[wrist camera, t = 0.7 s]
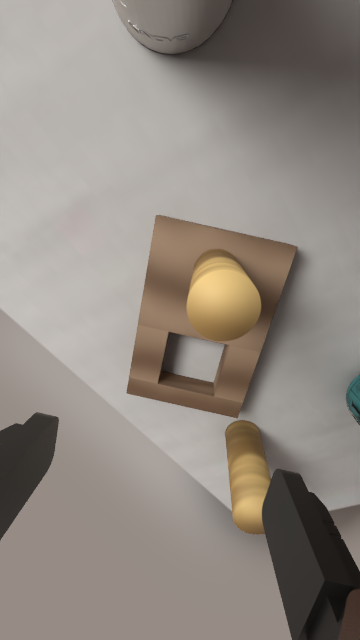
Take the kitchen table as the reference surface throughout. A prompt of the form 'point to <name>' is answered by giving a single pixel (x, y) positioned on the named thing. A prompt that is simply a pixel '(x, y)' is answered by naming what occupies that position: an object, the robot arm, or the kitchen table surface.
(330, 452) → the kitchen table surface
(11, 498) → the robot arm
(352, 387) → the beverage bottle
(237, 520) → the pin
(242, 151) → the kitchen table surface
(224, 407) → the pin plate
